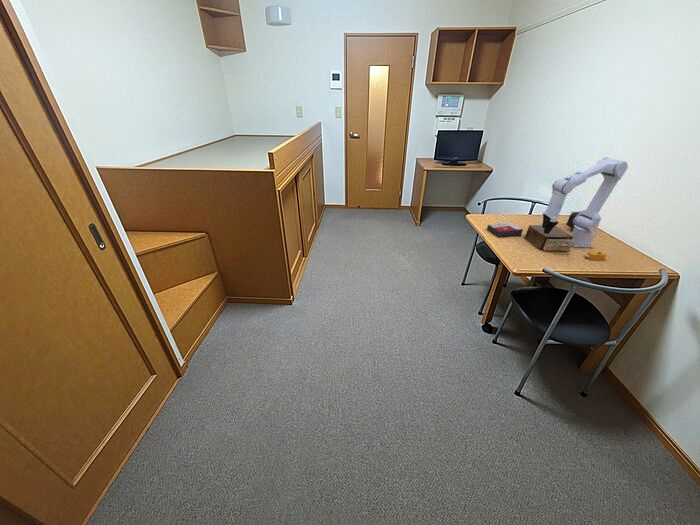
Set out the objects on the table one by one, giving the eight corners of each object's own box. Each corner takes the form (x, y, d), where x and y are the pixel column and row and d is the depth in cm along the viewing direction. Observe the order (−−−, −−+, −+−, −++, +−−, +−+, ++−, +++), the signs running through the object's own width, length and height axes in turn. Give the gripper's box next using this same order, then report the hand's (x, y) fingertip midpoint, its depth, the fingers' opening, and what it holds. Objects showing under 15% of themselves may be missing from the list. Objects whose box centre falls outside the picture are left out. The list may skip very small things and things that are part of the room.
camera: (575, 227, 182) (560, 227, 176) (584, 209, 177) (569, 209, 171) (593, 233, 173) (578, 234, 167) (603, 215, 168) (587, 215, 162)
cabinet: (567, 250, 151) (573, 237, 147) (540, 250, 150) (545, 236, 147) (549, 238, 164) (555, 225, 160) (524, 237, 163) (529, 225, 159)
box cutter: (599, 257, 145) (602, 251, 143) (603, 260, 143) (607, 254, 141) (582, 257, 145) (585, 251, 143) (586, 260, 143) (589, 253, 141)
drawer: (576, 255, 144) (581, 244, 141) (550, 255, 144) (554, 244, 141) (553, 239, 160) (557, 229, 157) (529, 238, 160) (533, 229, 157)
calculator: (487, 223, 169) (510, 220, 172) (486, 230, 172) (508, 227, 174) (500, 231, 160) (523, 228, 163) (498, 238, 162) (521, 235, 165)
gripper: (544, 199, 148) (535, 224, 155) (547, 207, 137) (537, 234, 143) (560, 201, 146) (550, 226, 152) (565, 210, 134) (554, 237, 141)
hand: (545, 230), depth 148 cm, fingers open, 7 cm apart
